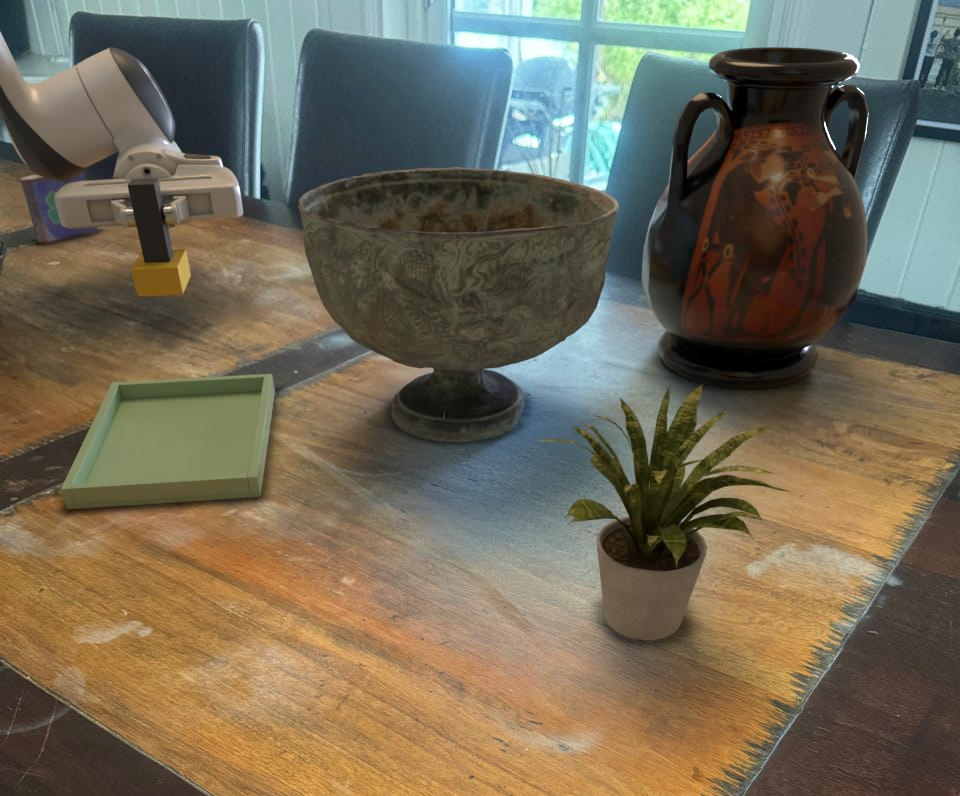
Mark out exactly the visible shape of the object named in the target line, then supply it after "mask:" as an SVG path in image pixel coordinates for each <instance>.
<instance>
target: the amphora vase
mask: <svg viewBox="0 0 960 796" xmlns="http://www.w3.org/2000/svg"><path fill="white" fill-rule="evenodd" d="M707 63H708V64H707V65H708V70H709V72H710V73H711V74H712V75H713V76H715V77H717V78H719V79H721V80H722V81H723V82H724V83H726V95H727V96H726V99H727V100H726V101H725V99H723V98H722V96H720V94H718V93H716V92H715V93H714V92H709V91H708V92H701V93H700V92H699V93H698V94H696V95H695V96H693V97H692V98H690V99H689V100H688V101H686V104H685V105H684V107H683V109H682V111H681V112H680V114H679V116H678V118H677V120H676V124H675V128H674V134H673V137H672V143H671V155H670V167H669V178H668V184H667V185H666V187H665V189H664V190H663V192H662V193H661V196H660V198H659V200H658V201H657V204H656V206H655V209H654V211H653V213H652V217H651V218H650V221H649V224H648V228H647V232H646V236H645V239H644V243H643V247H642V261H641V262H642V263H641V281H640V282H641V286H642V290H643V295H644V298H645V301H646V303H647V304H648V306H649V308H650V310H651V312H652V314H653V315H654V317H655V318H656V320H657V321H658V323H659V324H660V325H661V327H663V329H664V330H665V331H664V332H663V334H662V335H661V337H659V339H658V341H657V354H658V356H659V358H660V359H661V361H662V362H663V364H664V365H665V366H666V367H667V368H669V369H670V370H671V371H673V372H675V373H676V374H677V375H680V376H682V377H684V378H686V379H689V380H691V381H693V382H698V383H701V384H704V385H709V386H714V387H720V388H726V389H739V390H740V389H743V390H754V389H755V390H756V389H769V388H774V387H780V386H785V385H788V384H791V383H794V382H796V381H799V380H801V379H802V378H803V377H805V376H806V375H808V374H809V373H810V372H812V371H813V370H814V368H815V366H816V363H817V361H818V358H819V354H818V351H817V348H816V345H815V343H816V342H817V341H818V340H819V339H821V338H822V337H824V336H826V334H828V333H829V332H830V331H832V330H833V328H834V327H836V326H837V325H838V324H839V323H840V321H841V320H842V319H843V318H844V317H845V316H847V313H848V312H849V310H850V308H851V306H852V305H853V304H854V302H855V300H856V298H857V296H858V292H859V290H860V287H861V283H862V279H863V275H864V272H865V268H866V266H867V255H868V254H867V251H868V237H869V235H868V224H867V213H866V210H865V204H864V200H863V196H862V194H861V191H860V189H859V186H858V184H857V181H856V180H857V177H858V172H859V168H860V163H861V158H862V154H863V149H864V145H865V141H866V135H867V131H868V130H867V128H868V121H869V112H870V111H869V107H868V103H867V99H866V95H865V93H864V92H863V91H862V90H860V88H858V86H856V85H855V84H845V85H841V86H838V87H835V86H837V85H838V84H839V83H841V82H844V81H846V80H849V79H851V78H853V77H854V76H855V75H856V73H858V71H859V68H860V63H859V61H858V59H857V58H855V57H854V56H853V55H851V54H848V53H845V52H841V51H836V50H830V49H821V48H807V47H785V46H784V47H781V46H779V47H778V46H777V47H776V46H774V47H773V46H772V47H771V46H770V47H769V46H767V47H765V46H764V47H745V48H743V47H742V48H734V49H728V50H725V51H719V52H717V53H716V54H714V55H713V56H712V57H711V58H710V59H709V60H708V62H707ZM834 87H835V88H834ZM842 102H846V103H847V106H848V107H847V108H848V112H849V113H848V129H847V130H848V131H847V137H846V140H845V143H844V147H843V151H842V155H840V153H839V152H838V150H837V149H836V147H835V145H834V143H833V141H832V139H831V137H830V134H829V131H828V127H829V123H830V120H831V117H832V114H833V113H834V112H835V110H836V109H837V108H838V107H839V106H840V105H841V103H842ZM709 109H711V110H712V112H713V113H714V115H715V117H716V128H715V130H714V132H713V133H712V134H711V135H710V137H709V138H708V139H707V140H706V141H705V143H703V145H702V146H701V147H700V148H698V150H697V151H695V153H694V154H693V155H691V157H690V158H689V147H690V144H691V139H692V135H693V132H694V128H695V125H696V123H697V121H698V119H699V117H700V115H701V114H702V113H703V112H705V110H709Z"/></svg>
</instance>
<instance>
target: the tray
mask: <svg viewBox="0 0 960 796" xmlns="http://www.w3.org/2000/svg"><path fill="white" fill-rule="evenodd" d="M274 382H275V381H274V375H273V373H261V374H260V373H259V374H240V375H221V376H220V375H219V376H203V377H202V376H201V377H185V378H168V379H166V378H165V379H149V380H131V381H112V382H111V383H110V386H109V388H108V390H107V392H106V394H105V396H104V397H103V400H102V402H101V404H100V407H99V409H98V410H97V412H96V415H95V417H94V419H93V421H92V423H91V425H90V427H89V429H88V431H87V433H86V436H85V437H84V440H83V441H82V444H81V446H80V448H79V450H78V452H77V454H76V457H75V459H74V460H73V463H72V465H71V467H70V469H69V471H68V473H67V475H66V477H65V479H64V482H63V483H62V486H61V488H60V492H61V494H62V498H63V501H64V504H65V507H66V510H77V509H79V510H80V509H93V508H110V507H124V506H138V505H139V506H140V505H154V504H169V503H171V504H172V503H185V502H199V501H200V502H201V501H216V500H217V501H218V500H231V499H232V500H233V499H247V498H248V499H249V498H260V497H261V495H262V489H263V482H264V473H265V467H266V459H267V452H268V445H269V437H270V432H271V431H270V429H271V423H272V416H273V409H274V402H275V395H276V389H275V383H274Z"/></svg>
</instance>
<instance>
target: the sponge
mask: <svg viewBox="0 0 960 796" xmlns="http://www.w3.org/2000/svg"><path fill="white" fill-rule="evenodd" d="M128 190H129V194H130V199H131V204H132V208H133V213H134V217H135V222H136V226H137V227H136V230H137V235H138V238H139V244H140V249H141V252H140V253H139V255H138V257H137V259H136V261H134V262H135V263H134V264H133V266H132V268H131V275H132V280H133V283H134V287H135V293H136V296H137V297H161V296H184V293H185V291H186V288H187V287H188V283H189V282H190V278H191V276H192V274H191V268H190V267H191V266H190V263H189V257H188V252H187V249H186V248H182V249H181V248H178V249H174V248H173V244H172V240H171V234H170V229H168V225H166V223H165V216H164V214H163V200H162V195H161V190H160V185H159V180H158V178H147V179H132V180H131V181H130V183H129V184H128Z"/></svg>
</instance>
